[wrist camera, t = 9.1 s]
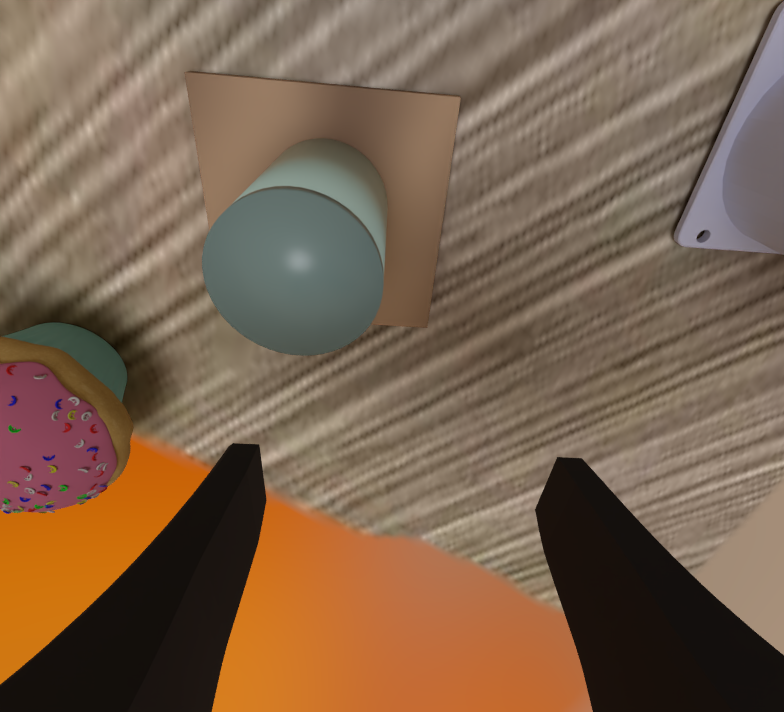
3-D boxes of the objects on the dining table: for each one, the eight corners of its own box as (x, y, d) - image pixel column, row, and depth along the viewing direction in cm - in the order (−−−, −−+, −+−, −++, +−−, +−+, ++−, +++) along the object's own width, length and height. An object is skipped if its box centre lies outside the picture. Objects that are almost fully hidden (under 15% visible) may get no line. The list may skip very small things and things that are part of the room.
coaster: (458, 95, 15) (460, 97, 15) (425, 321, 20) (427, 327, 20) (191, 71, 15) (184, 72, 14) (226, 308, 20) (223, 315, 19)
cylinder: (389, 141, 15) (386, 194, 10) (385, 264, 18) (380, 358, 13) (256, 135, 15) (182, 186, 10) (272, 260, 18) (220, 352, 13)
